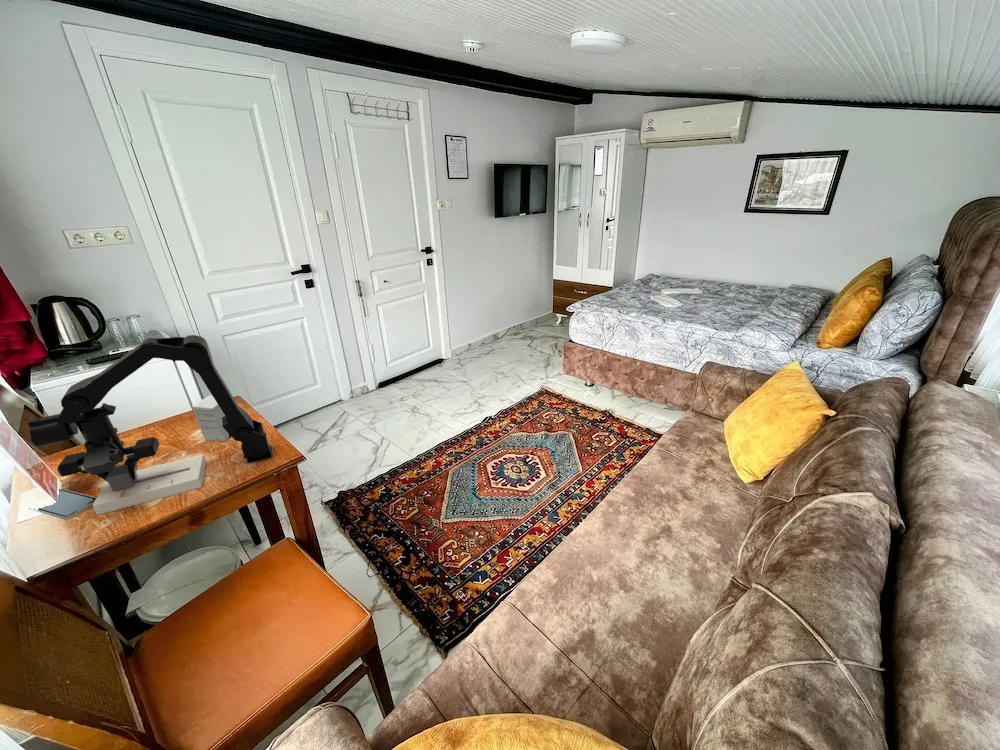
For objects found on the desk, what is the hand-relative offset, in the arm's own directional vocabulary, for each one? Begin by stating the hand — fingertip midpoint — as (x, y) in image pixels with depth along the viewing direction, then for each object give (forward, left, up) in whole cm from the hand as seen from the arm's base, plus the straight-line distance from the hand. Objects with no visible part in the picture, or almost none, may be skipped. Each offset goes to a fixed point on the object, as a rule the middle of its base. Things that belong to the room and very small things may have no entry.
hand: (124, 481), depth 108 cm
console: (-6, 0, -4) cm, 7 cm away
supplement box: (-20, -21, -4) cm, 29 cm away
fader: (0, 0, -1) cm, 1 cm away
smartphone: (+14, -3, -5) cm, 15 cm away
